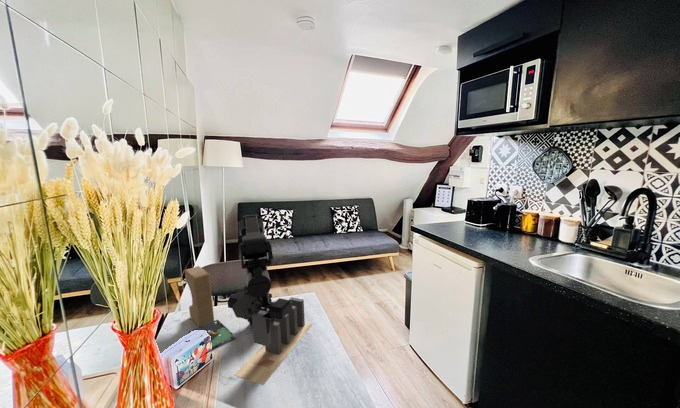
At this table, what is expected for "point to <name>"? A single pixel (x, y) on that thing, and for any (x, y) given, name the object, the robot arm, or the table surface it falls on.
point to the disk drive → (217, 333)
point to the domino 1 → (260, 329)
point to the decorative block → (200, 296)
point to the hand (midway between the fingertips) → (261, 330)
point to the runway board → (268, 359)
